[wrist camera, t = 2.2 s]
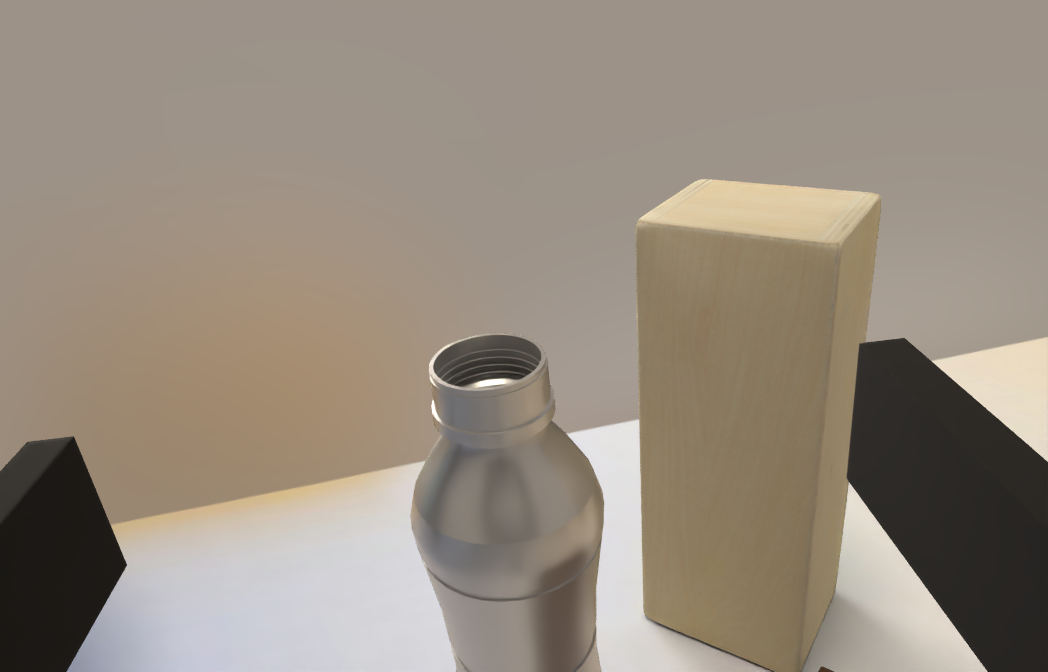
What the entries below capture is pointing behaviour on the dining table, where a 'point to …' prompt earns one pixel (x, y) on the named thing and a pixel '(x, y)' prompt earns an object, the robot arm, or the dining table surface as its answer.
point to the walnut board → (824, 670)
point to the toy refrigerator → (749, 407)
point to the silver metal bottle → (508, 513)
